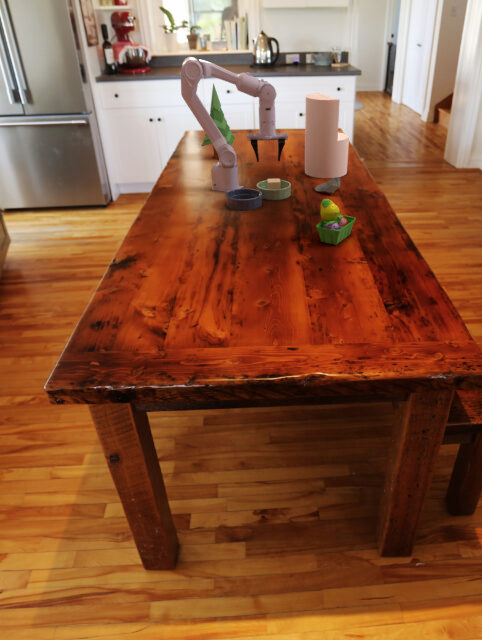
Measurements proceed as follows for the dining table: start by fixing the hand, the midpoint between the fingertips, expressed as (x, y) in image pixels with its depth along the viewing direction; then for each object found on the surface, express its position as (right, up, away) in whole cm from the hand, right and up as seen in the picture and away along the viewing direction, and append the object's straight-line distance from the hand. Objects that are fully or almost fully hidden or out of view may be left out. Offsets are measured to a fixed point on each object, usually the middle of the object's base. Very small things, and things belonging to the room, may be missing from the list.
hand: (268, 161), depth 178 cm
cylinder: (+23, +3, +21) cm, 31 cm away
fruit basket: (+21, -36, -35) cm, 54 cm away
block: (+2, -13, -4) cm, 14 cm away
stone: (+22, -11, 0) cm, 24 cm away
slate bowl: (-8, -20, -12) cm, 24 cm away
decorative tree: (-24, +16, +41) cm, 50 cm away
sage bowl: (+2, -14, -3) cm, 14 cm away
